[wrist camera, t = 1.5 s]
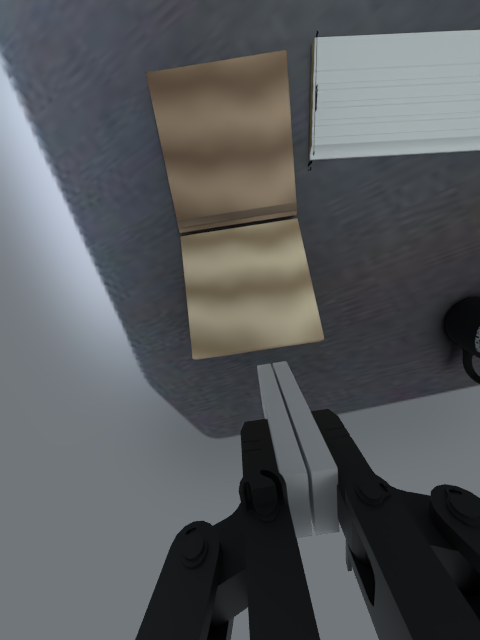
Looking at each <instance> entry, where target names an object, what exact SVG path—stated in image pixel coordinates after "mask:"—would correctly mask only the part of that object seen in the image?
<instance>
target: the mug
mask: <svg viewBox="0 0 480 640" xmlns="http://www.w3.org/2000/svg"><path fill="white" fill-rule="evenodd" d="M445 329H446V332H447V334H448V335H449V336H450V338H451V339H452V340H453V341H454V342H456V343H457V344H458V345H459V346H461V347H462V349H463V366H464V369H465V371H466V372H467V374H468V375H469V376H470V378H472V379H473V380H474V381H476V382H477V383H479V384H480V377H479V376H478V375H477V374H476V372H475V371H474V369H473V366H472V356H473V355H475V356H477V357H479V358H480V297H474V298H469V299H466V300H463V301H461V302H460V303H458V304H457V305H455V306H454V307H453V308H452V309H451V311H450V312H449V313H448V315H447V318H446V321H445Z"/></svg>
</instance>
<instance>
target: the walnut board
mask: <svg viewBox="0 0 480 640" xmlns="http://www.w3.org/2000/svg"><path fill="white" fill-rule="evenodd" d="M146 76H147V81H148V85H149V90H150V95H151V100H152V104H153V109H154V114H155V119H156V123H157V128H158V133H159V137H160V142H161V147H162V152H163V156H164V161H165V166H166V171H167V175H168V180H169V185H170V190H171V194H172V199H173V204H174V208H175V213H176V218H177V225H178V228H179V232H180V233H182V234H184V233H190V232H197V231H203V230H210V229H216V228H223V227H229V226H236V225H242V224H249V223H255V222H262V221H268V220H275V219H281V218H287V217H293V216H295V215H297V202H296V191H295V175H294V160H293V145H292V130H291V114H290V99H289V84H288V69H287V53H286V50H283V51H277V52H271V53H265V54H258V55H252V56H246V57H240V58H234V59H227V60H221V61H215V62H209V63H202V64H196V65H190V66H184V67H177V68H171V69H165V70H159V71H153V72H146Z"/></svg>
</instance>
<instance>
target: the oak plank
mask: <svg viewBox="0 0 480 640" xmlns="http://www.w3.org/2000/svg"><path fill="white" fill-rule="evenodd" d="M180 237H181V247H182V257H183V267H184V277H185V287H186V297H187V306H188V316H189V326H190V336H191V346H192V356H193V359H196V360H198V359H204V358H211V357H218V356H225V355H231V354H238V353H245V352H251V351H258V350H265V349H271V348H278V347H285V346H291V345H298V344H305V343H311V342H318V341H321V340H323V339H324V335H323V331H322V326H321V322H320V317H319V313H318V308H317V304H316V300H315V295H314V291H313V286H312V282H311V277H310V273H309V268H308V264H307V259H306V255H305V250H304V246H303V241H302V237H301V233H300V228H299V224H298V219H297V218H296V219H290V220H283V221H277V222H270V223H264V224H257V225H251V226H245V227H238V228H232V229H225V230H219V231H212V232H206V233H199V234H193V235H186V236H180Z"/></svg>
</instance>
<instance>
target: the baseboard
mask: <svg viewBox="0 0 480 640" xmlns="http://www.w3.org/2000/svg"><path fill="white" fill-rule="evenodd" d="M317 35H318V31H317V34H316V37H317ZM469 151H480V30H468V31H446V32H425V33H403V34H382V35H360V36H339V37H317V38H314V41H313V43H312V57H311V98H310V138H309V161H310V162H308V163H309V164H308V166H309V165H310V164H311V163H312V161H314V160H331V159H348V158H366V157H383V156H400V155H417V154H435V153H452V152H469ZM309 170H310V171H311V167H310V169H309ZM309 170H308V171H309Z"/></svg>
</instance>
